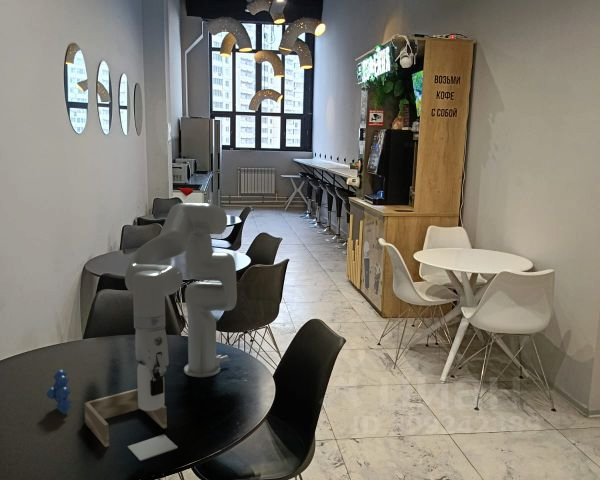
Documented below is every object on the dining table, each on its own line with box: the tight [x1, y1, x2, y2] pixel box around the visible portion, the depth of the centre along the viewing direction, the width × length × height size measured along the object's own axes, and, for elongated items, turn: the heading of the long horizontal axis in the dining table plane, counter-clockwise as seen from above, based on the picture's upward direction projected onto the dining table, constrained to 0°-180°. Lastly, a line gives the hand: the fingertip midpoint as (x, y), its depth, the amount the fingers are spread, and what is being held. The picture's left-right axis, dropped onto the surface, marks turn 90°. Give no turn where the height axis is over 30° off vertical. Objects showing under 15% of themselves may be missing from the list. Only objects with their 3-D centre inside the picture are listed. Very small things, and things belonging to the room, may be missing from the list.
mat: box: [127, 434, 178, 462], centre depth 141 cm, size 10×8×1 cm
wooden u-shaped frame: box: [83, 388, 168, 448], centre depth 151 cm, size 17×16×6 cm
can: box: [136, 361, 166, 412], centre depth 138 cm, size 6×6×12 cm
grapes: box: [45, 369, 72, 415], centre depth 158 cm, size 12×7×12 cm, turn 32°
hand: (151, 388), depth 138 cm, fingers closed on can, 6 cm apart
